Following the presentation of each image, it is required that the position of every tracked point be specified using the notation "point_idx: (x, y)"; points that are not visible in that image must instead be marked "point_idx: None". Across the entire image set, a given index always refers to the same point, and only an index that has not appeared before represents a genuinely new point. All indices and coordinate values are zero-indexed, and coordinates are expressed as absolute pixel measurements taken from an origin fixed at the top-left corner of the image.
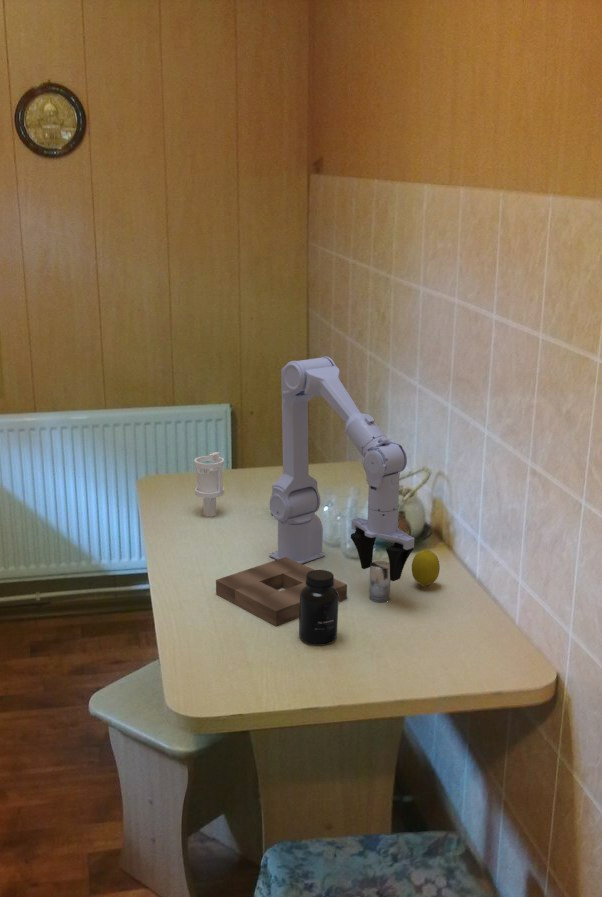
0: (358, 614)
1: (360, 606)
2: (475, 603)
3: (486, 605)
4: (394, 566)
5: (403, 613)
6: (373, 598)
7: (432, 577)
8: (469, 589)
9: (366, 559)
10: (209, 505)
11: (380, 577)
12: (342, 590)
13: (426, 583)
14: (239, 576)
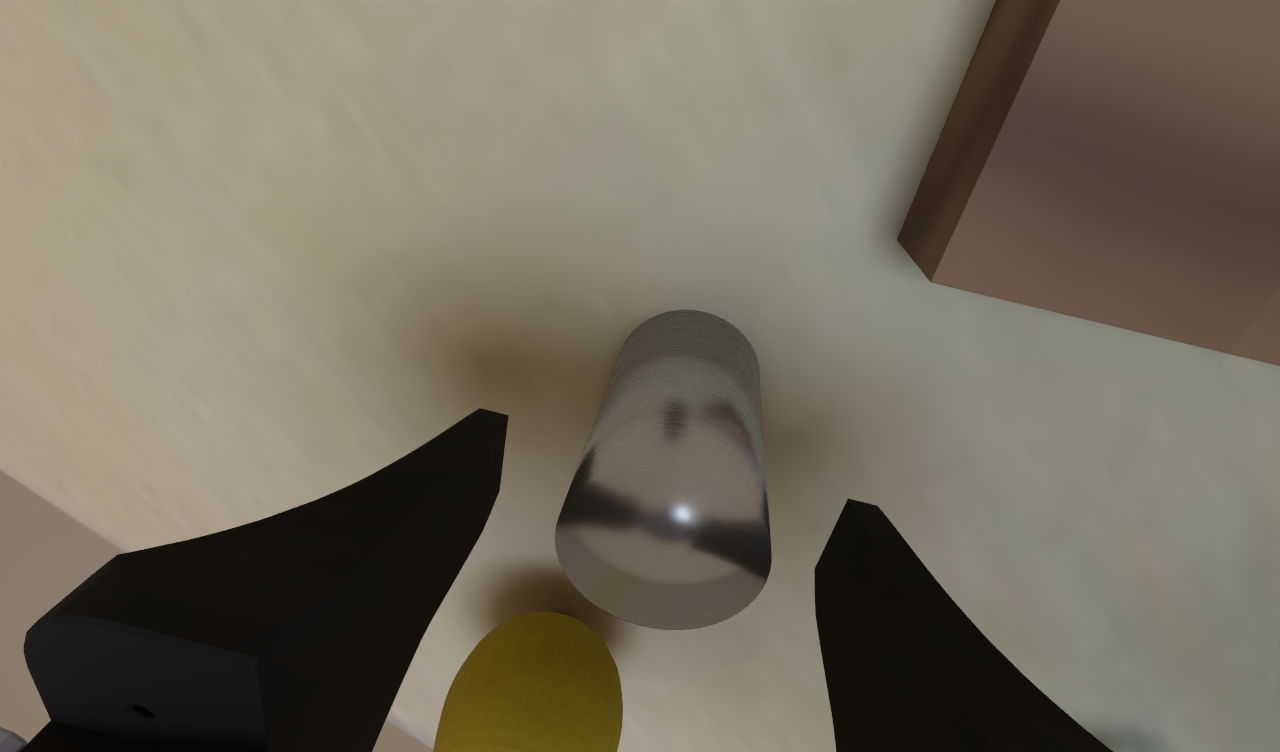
0: (673, 39)
1: (735, 186)
2: None
3: None
4: (354, 483)
5: (434, 270)
6: (692, 320)
7: (467, 657)
8: None
9: (854, 593)
10: None
11: (617, 422)
12: (943, 211)
13: (514, 617)
14: None
